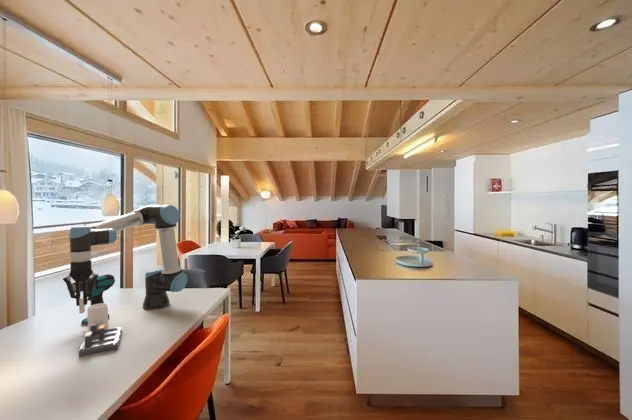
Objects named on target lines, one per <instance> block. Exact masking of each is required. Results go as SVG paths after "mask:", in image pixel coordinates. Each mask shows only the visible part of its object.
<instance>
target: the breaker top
mask: <svg viewBox="0 0 632 420" xmlns="http://www.w3.org/2000/svg"><path fill="white" fill-rule="evenodd" d="M84 340H85V347H90V346H92V343H93V342H92V332H88V331H87V332H86V333H85V334H84Z"/></svg>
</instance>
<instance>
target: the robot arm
mask: <svg viewBox="0 0 632 420" xmlns="http://www.w3.org/2000/svg"><path fill="white" fill-rule="evenodd" d="M180 217H181V216H180V211H179V209H178V208H177V207H176V206H174V205H172V204H166V203H165V204H149V205H145V206H142V207H139V208H137V209H134V210H131V212H130V213H127V214H124V215H121V216H117V217H114V218H111V219H108V220H105V221H101V222H99V223H96V224H92V225H82V226H80V225H79V226H72V227H70V229H69V234H68V238H69V253H70V255H69V256H70V257H69V259H70V260H69V261H70V266H69V267H70V272H69V274H68V275H67V276H65V277H63V279H62V280H63V282H65V284H66V286H67V288H68V289H67V290H68V294H69V296H70V298H71V299H75V300H76V301H75V302H76V307H79V308H78V311H79V314H84V313H85V312H86V305H88V301H87V300H88V297H89V296H91V295H92V292H93V289H94V285H95V281H96V278H97V277H98V276H100V274H99V273H94V271H93V269H92V260H91V259H92V247H94V246H102V245H103V246H104V245H110V244H114V243H115V242H116V241H117V238H118V234H117V233H118V232H121V231H124V230H126V229H129V228H132V227H135V226H139V227H140V226H143V225H154V229H156V230H157V231H158V236H159V243H160V244H159V245H160V251H161V253H160V254H161V260H162V266H163V268H156V269H151V270H148V271H146V272H145V277H144V279H145V280H144V283H145V296H144V299H143V303H142V309H144V310H149V311H150V310H151V311H152V310H159V309H164V308H167V307H168V306H169V305H170V298H169V295H168V293H167V292H171V293H178V292H182V290H184V289H185V287H186V286H187V283H188V275H187V274H186V273H185V272H183V267H181V266H180V265H179V255H178V249H177V240H176V232H175V229H176V227H177V224H178V223H179V220H180ZM90 277H92V278H93V279H92V282H91V286H90V289H89V293H88V294H87V280H88V278H90ZM71 279H72V280H73V281H74V282H75V284H76V293H75V292H74V289H73V286H72V280H71ZM80 281H82V282H83V291H82V296H81V292H80Z"/></svg>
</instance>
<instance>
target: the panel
mask: <svg viewBox="0 0 632 420" xmlns="http://www.w3.org/2000/svg"><path fill="white" fill-rule="evenodd" d="M122 334H123V328H122V326H118V327H117V326H116V327H111V328H108V329H105V338H104V339H99V330H98V331H97V335H92V342H93V343H92V346H90V347H85V339H84V340H83V342H82V344H81V346H80V348H79V350H78V358H81V357H86V356H92V355H96V354H102V353H107V352H113V351H118V350H119V346H120V342H121V339H122V336H123V335H122Z"/></svg>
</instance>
